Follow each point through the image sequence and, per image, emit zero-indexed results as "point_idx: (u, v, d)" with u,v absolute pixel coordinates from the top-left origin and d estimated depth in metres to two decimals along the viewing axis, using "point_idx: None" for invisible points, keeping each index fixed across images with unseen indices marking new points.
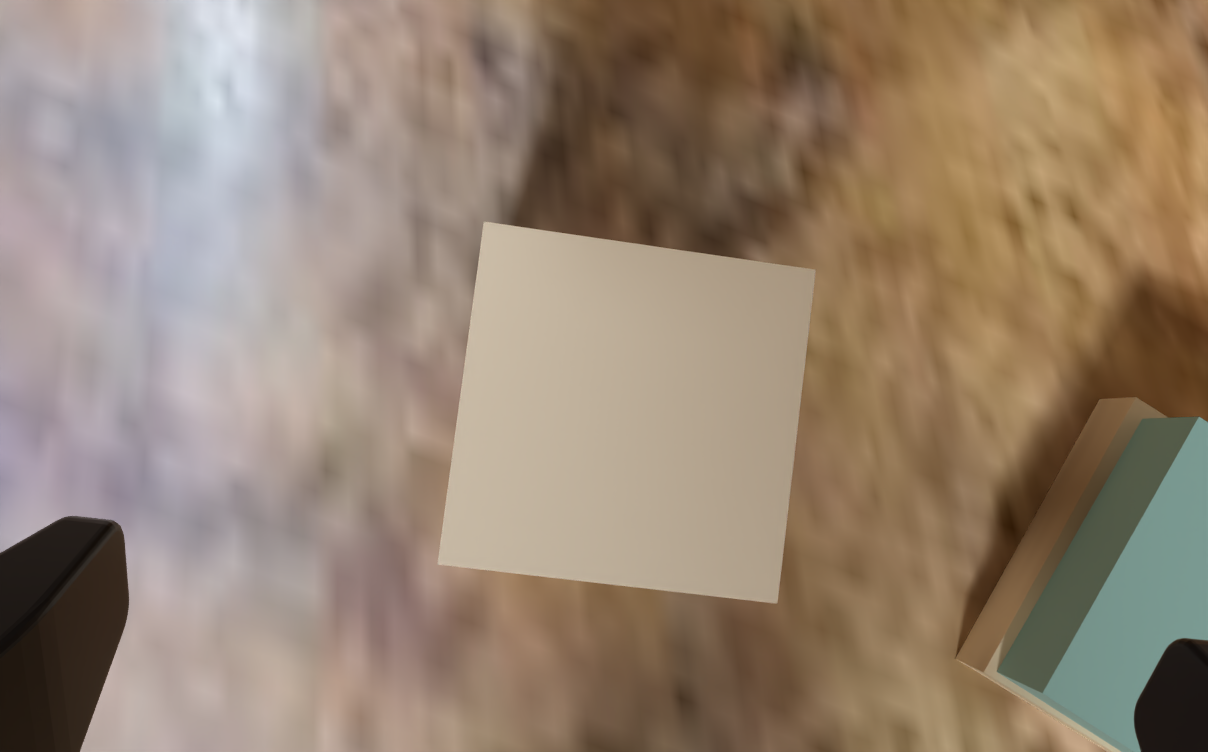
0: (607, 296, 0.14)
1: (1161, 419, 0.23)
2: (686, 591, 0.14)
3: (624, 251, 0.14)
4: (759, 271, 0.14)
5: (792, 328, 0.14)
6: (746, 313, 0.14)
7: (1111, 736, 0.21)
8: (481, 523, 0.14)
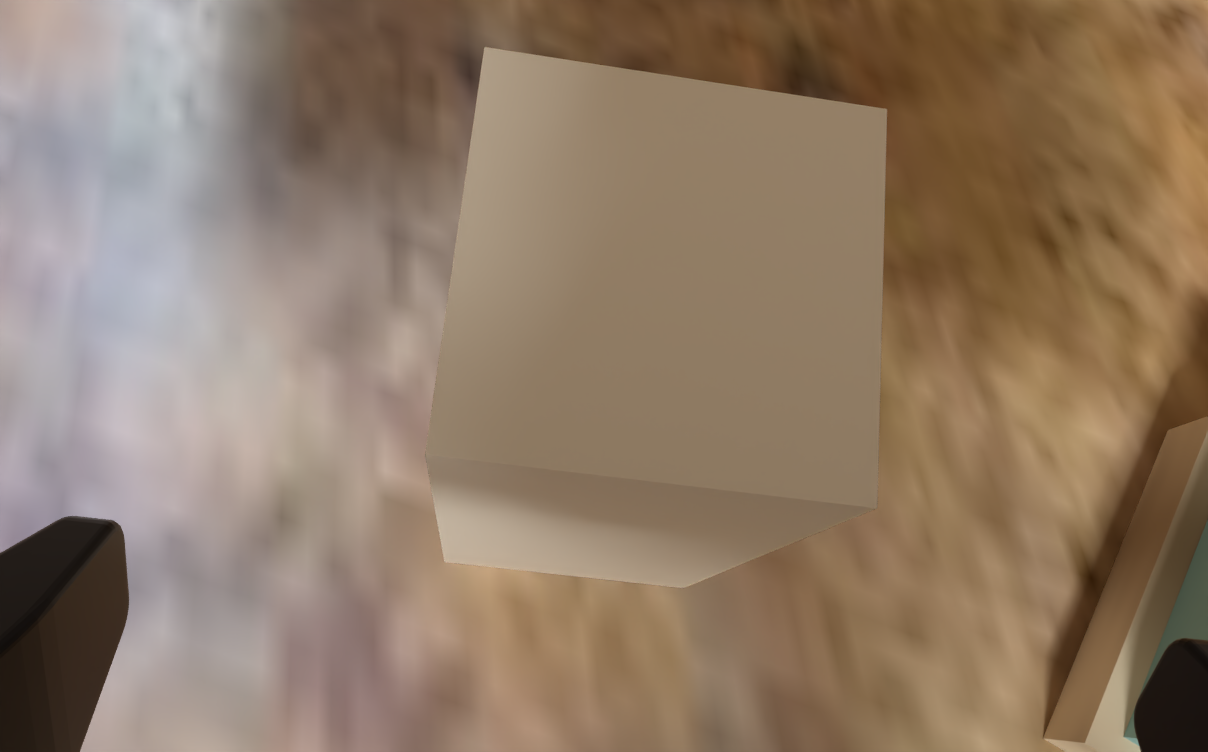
0: (636, 133, 0.12)
1: None
2: (757, 490, 0.11)
3: (655, 84, 0.12)
4: (819, 110, 0.12)
5: (865, 174, 0.12)
6: (807, 155, 0.12)
7: None
8: (483, 402, 0.11)
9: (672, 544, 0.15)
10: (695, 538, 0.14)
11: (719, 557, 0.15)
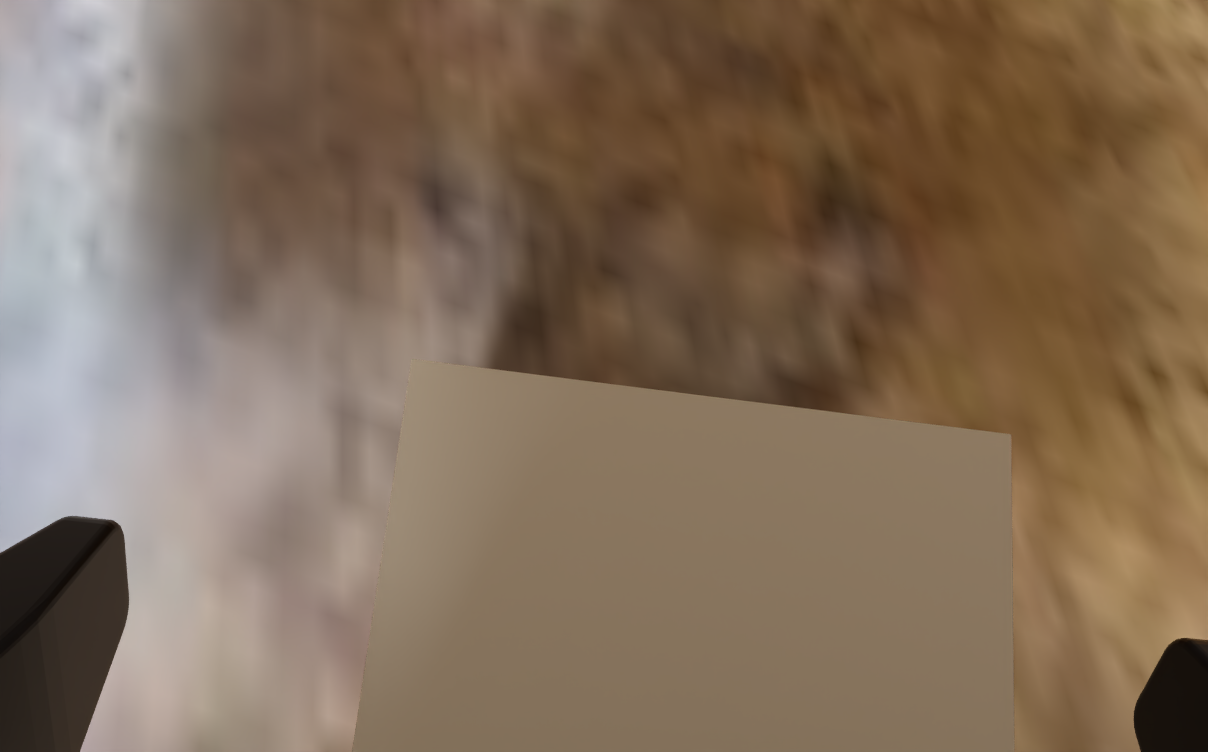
0: (641, 491, 0.08)
1: None
2: None
3: (669, 408, 0.08)
4: (912, 439, 0.08)
5: (982, 541, 0.08)
6: (897, 516, 0.08)
7: None
8: None
9: None
10: None
11: None
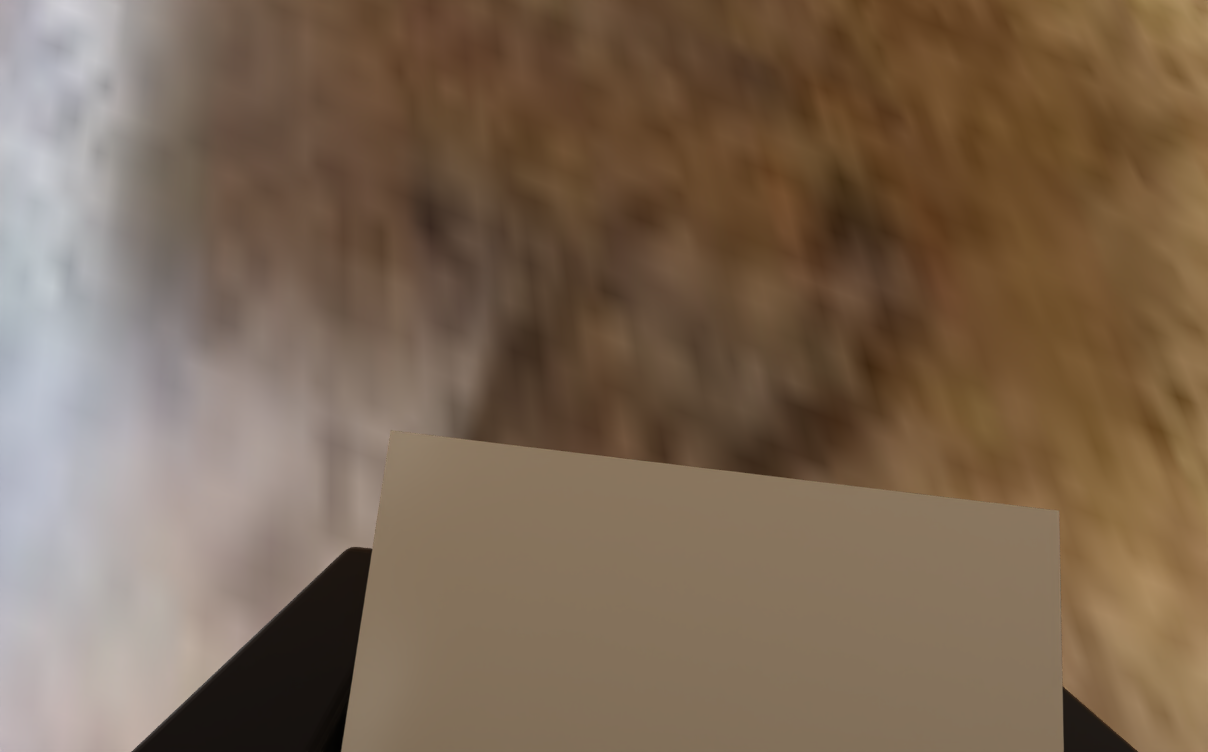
0: (648, 580, 0.07)
1: None
2: None
3: (679, 484, 0.07)
4: (949, 517, 0.07)
5: (1027, 633, 0.07)
6: (934, 604, 0.07)
7: None
8: None
9: None
10: None
11: None
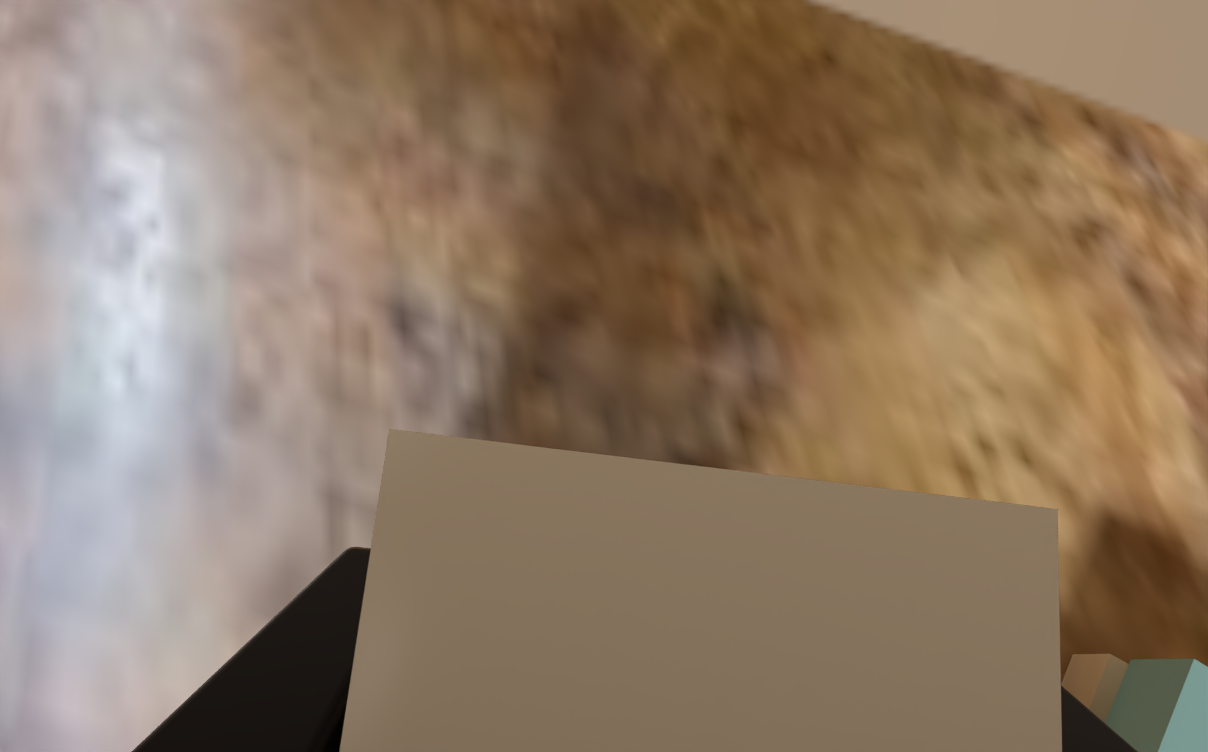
0: (646, 579, 0.07)
1: (1153, 660, 0.21)
2: None
3: (677, 483, 0.07)
4: (948, 516, 0.07)
5: (1026, 632, 0.07)
6: (932, 602, 0.07)
7: None
8: None
9: None
10: None
11: None
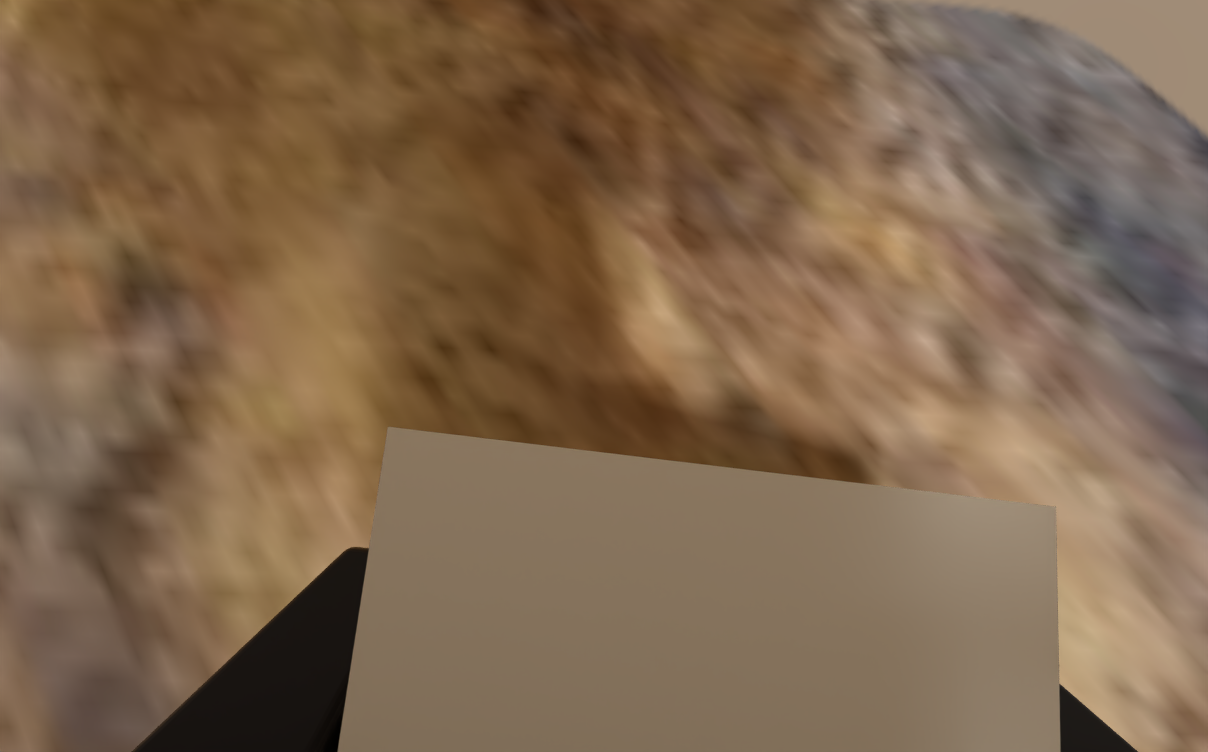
0: (646, 575, 0.07)
1: None
2: None
3: (676, 480, 0.07)
4: (946, 513, 0.07)
5: (1024, 629, 0.07)
6: (930, 599, 0.07)
7: None
8: None
9: None
10: None
11: None
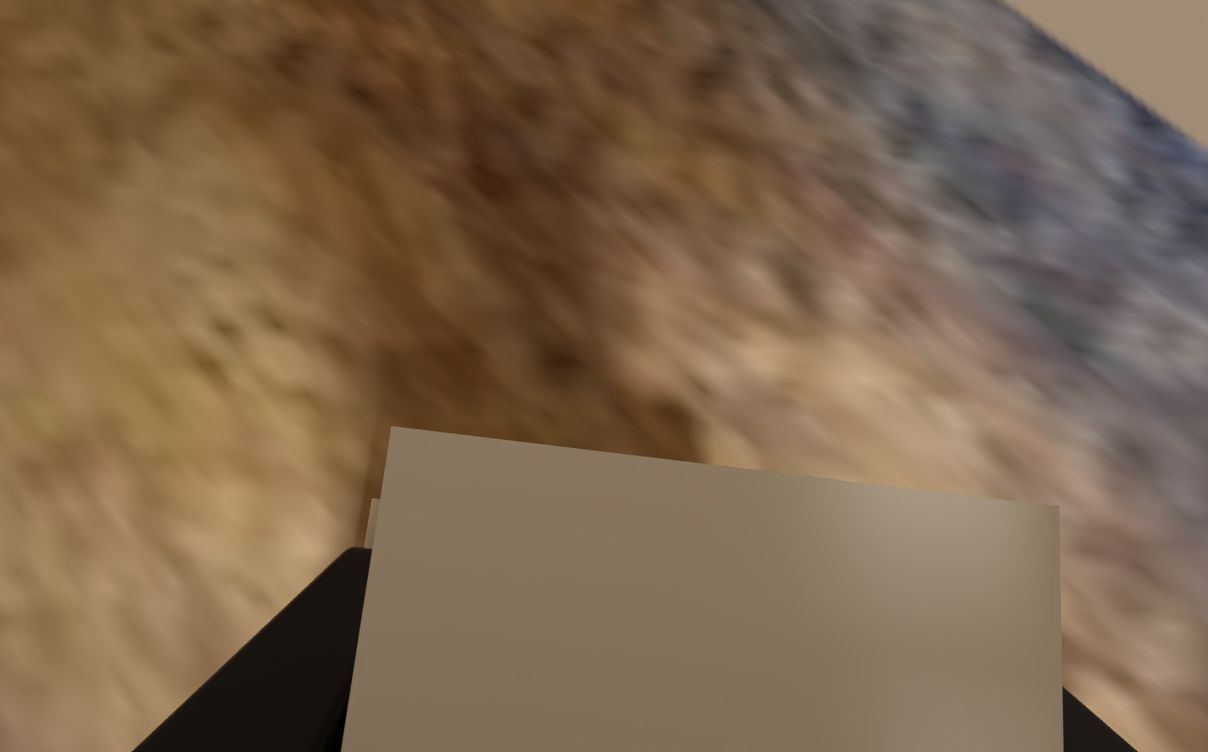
0: (649, 575, 0.07)
1: None
2: None
3: (679, 480, 0.07)
4: (949, 513, 0.07)
5: (1027, 629, 0.07)
6: (934, 601, 0.07)
7: None
8: None
9: None
10: None
11: None
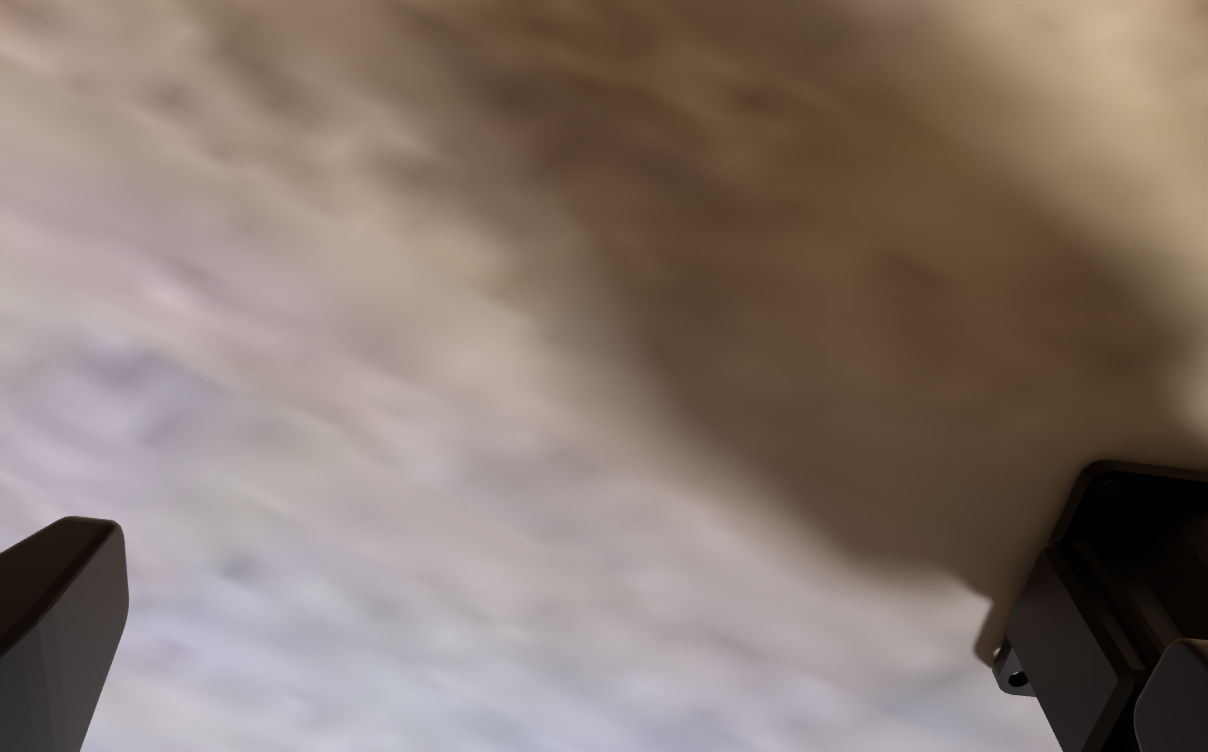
0: None
1: None
2: None
3: None
4: None
5: None
6: None
7: None
8: None
9: None
10: None
11: None
